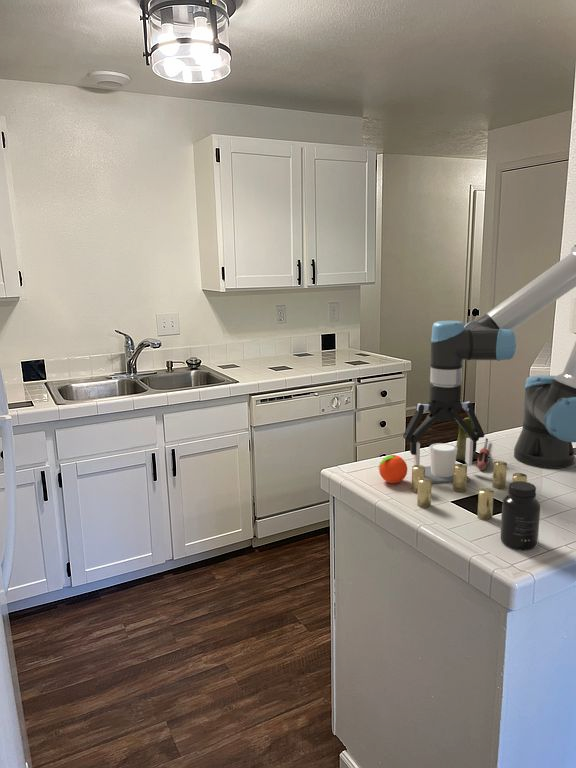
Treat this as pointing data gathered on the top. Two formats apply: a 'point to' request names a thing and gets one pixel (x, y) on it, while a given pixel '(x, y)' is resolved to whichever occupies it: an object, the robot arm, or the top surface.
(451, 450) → the white cup
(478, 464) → the screwdriver
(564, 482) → the top surface
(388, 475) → the clementine
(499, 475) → the spacer field
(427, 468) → the slate mat
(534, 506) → the supplement bottle
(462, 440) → the fennel bulb
